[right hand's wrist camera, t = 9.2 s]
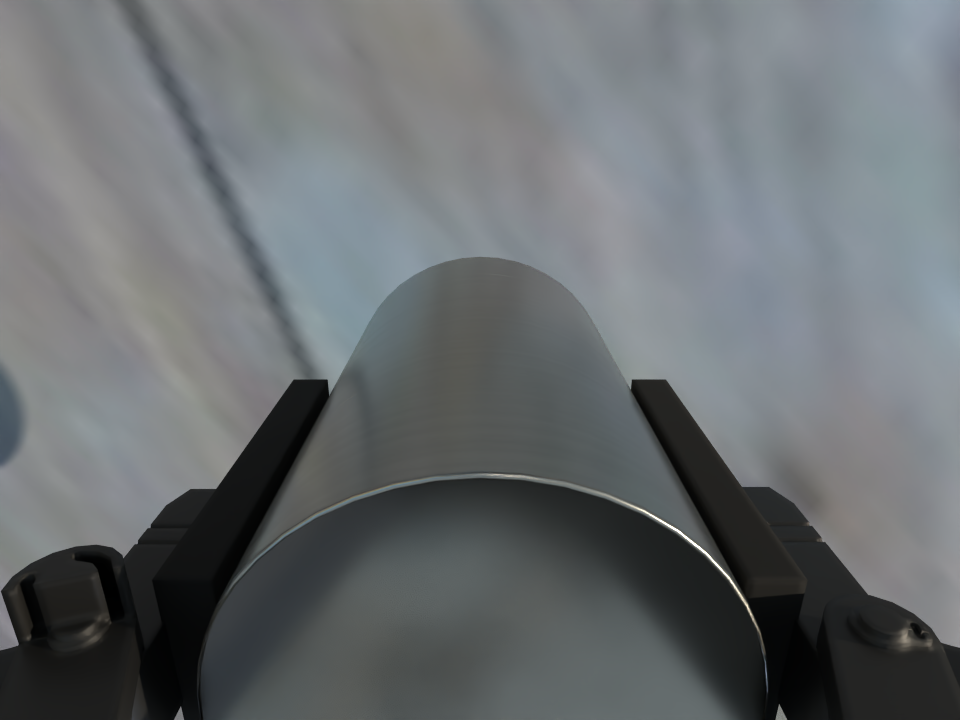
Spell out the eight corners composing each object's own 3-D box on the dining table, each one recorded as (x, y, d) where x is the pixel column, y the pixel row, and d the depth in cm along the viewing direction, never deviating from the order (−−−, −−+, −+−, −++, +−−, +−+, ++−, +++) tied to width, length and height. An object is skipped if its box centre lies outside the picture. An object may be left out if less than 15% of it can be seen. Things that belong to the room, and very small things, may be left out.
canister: (648, 313, 17) (889, 594, 7) (543, 514, 19) (613, 943, 9) (405, 216, 16) (283, 380, 6) (327, 439, 18) (142, 825, 8)
